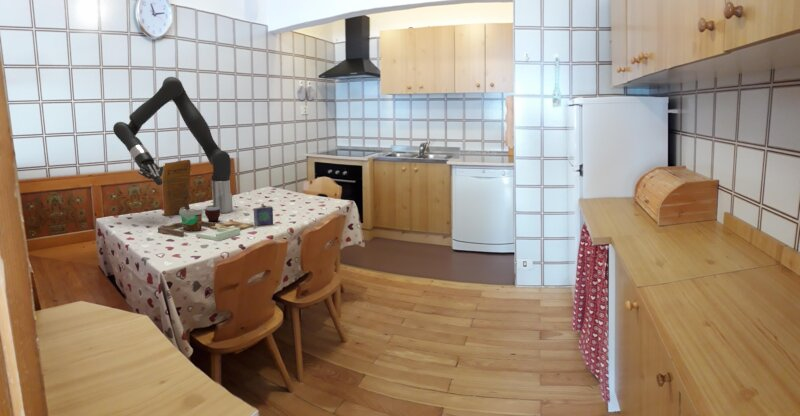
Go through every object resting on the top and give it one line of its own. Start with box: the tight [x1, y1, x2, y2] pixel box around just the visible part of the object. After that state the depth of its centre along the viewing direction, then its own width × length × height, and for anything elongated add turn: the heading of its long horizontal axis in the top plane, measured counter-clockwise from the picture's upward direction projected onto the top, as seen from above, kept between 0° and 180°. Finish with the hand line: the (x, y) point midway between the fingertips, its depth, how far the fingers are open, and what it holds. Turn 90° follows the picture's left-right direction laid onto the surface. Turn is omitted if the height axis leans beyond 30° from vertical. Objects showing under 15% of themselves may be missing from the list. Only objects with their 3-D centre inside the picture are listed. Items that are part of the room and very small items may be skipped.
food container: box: [178, 207, 203, 233], centre depth 238 cm, size 12×6×10 cm, turn 62°
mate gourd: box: [204, 192, 223, 224], centre depth 254 cm, size 8×8×15 cm
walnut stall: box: [157, 220, 217, 238], centre depth 239 cm, size 19×15×2 cm
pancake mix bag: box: [161, 159, 192, 217], centre depth 270 cm, size 7×19×28 cm, turn 151°
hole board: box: [209, 220, 255, 231], centre depth 245 cm, size 14×14×1 cm
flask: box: [253, 202, 274, 227], centre depth 250 cm, size 9×3×11 cm, turn 120°
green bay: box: [195, 227, 241, 242], centre depth 230 cm, size 13×13×3 cm
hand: (160, 184), depth 244 cm, fingers closed
